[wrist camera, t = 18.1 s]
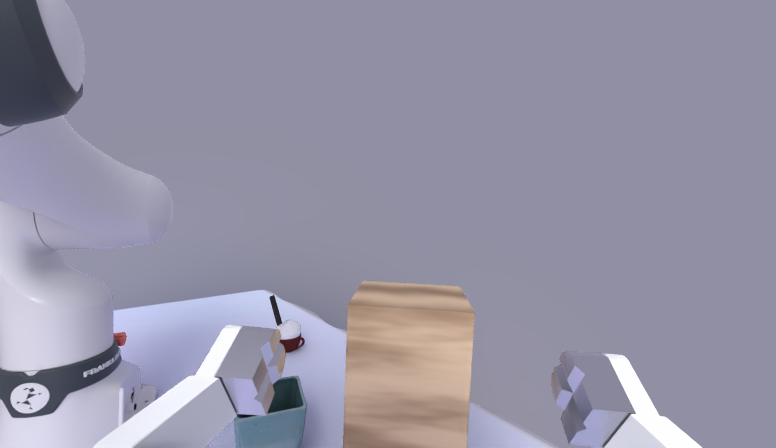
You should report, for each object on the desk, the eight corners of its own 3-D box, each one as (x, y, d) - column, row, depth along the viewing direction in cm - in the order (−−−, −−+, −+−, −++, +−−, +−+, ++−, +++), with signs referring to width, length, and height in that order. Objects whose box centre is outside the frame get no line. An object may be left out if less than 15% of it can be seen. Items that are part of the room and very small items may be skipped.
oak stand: (355, 477, 45) (363, 280, 43) (448, 486, 44) (459, 286, 42) (339, 556, 35) (347, 305, 33) (459, 570, 34) (474, 313, 32)
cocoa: (307, 352, 81) (312, 302, 80) (284, 359, 76) (288, 307, 75) (286, 338, 87) (290, 292, 86) (263, 344, 83) (267, 296, 82)
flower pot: (235, 443, 50) (236, 383, 49) (297, 430, 53) (298, 374, 53) (232, 491, 42) (233, 420, 41) (305, 472, 45) (307, 407, 44)
